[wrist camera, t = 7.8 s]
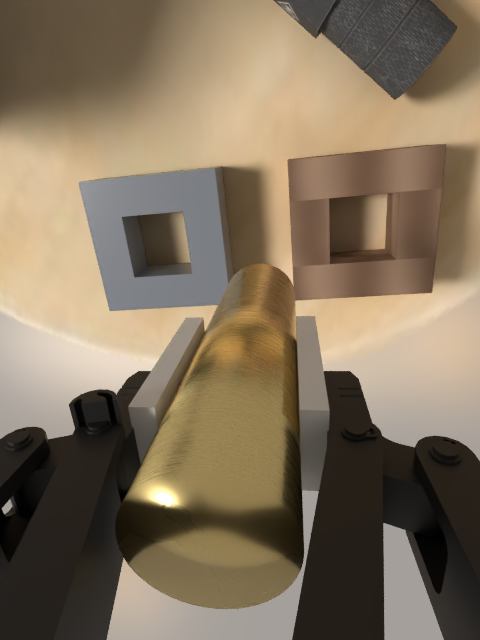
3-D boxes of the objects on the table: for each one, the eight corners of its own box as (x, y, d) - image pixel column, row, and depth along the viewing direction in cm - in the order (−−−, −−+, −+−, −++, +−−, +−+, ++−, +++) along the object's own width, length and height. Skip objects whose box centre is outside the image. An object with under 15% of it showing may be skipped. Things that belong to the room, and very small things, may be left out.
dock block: (293, 286, 40) (294, 300, 36) (287, 159, 35) (288, 160, 32) (417, 279, 38) (431, 292, 35) (428, 145, 34) (446, 144, 30)
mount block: (124, 297, 42) (109, 310, 39) (98, 179, 38) (78, 182, 34) (235, 290, 41) (230, 304, 37) (221, 166, 36) (214, 168, 32)
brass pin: (228, 329, 24) (131, 600, 9) (223, 264, 22) (98, 467, 8) (295, 328, 23) (304, 616, 9) (294, 262, 22) (303, 475, 7)
